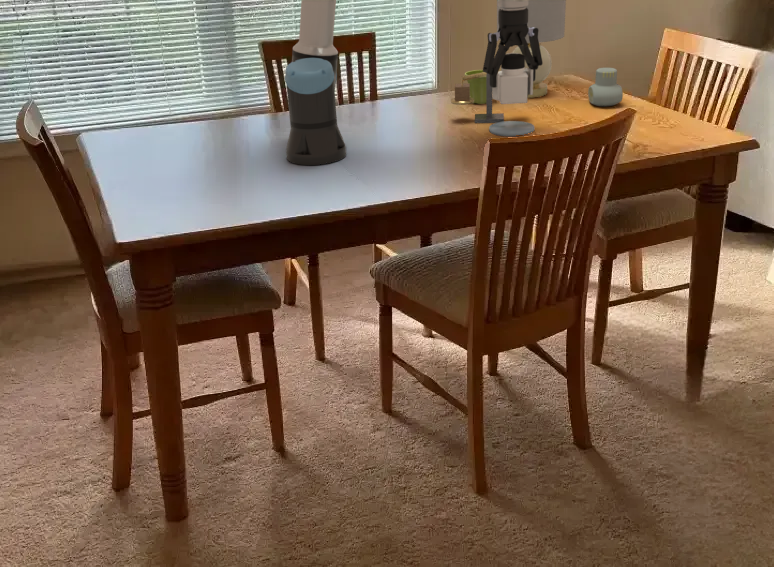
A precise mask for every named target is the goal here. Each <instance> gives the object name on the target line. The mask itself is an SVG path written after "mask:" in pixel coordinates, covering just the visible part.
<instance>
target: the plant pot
mask: <svg viewBox="0 0 774 567" xmlns="http://www.w3.org/2000/svg"><path fill="white" fill-rule="evenodd" d="M482 72H483V69H474V70H469V71H466V72H465V73H464V76H467V75H472V74H477V73H482ZM466 81H467V83H470V97H471V98H473V99H474V102H473V103H472V104H477V105H486V76H485V77H480V78H475V79H470V80H466Z"/></svg>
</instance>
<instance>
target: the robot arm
mask: <svg viewBox="0 0 774 567" xmlns="http://www.w3.org/2000/svg"><path fill="white" fill-rule="evenodd" d="M336 3H337V0H301V3H300V19H299V21H300V22H299V37H298V41H297V42H296V44H295V45H293V46H292V56H291V62H290V63H289V64H287V66H286V68H285V74H284V81H285V85H286V92H287V103H288V104H287V105H288V114H289V116H288V117H289V123H290V129H289V134H288V139H287V143H286V144H287V145H286V149H285V154H286V160H287V161H288V162H289V161H290V162H289V163H291V162H292V164H295V165H300V166H317V165H318V166H320V164H321V165H327V164H331V162H332V163H335V162H338V161H341V160H343V159H344V158H345V157H346V156H347V146H346V143H345V141H344V138H343V135H342V132H341V131H340V128H339V126H338V117H337V116H338V115H337V107H336V106H337V104H336V85H337V80H338V73H337V72H338V71H337V69H338V56H339V51H338V50H337V48H336V47H335V46H334V33H335V18H336V6H337V5H336ZM498 6H499V7H500V8H501V9H499V11H498V23H499V30H498V32H497V31H496V32H489V33H487V47H486V52H485V56H484V62H483V67H482V70H483V72H485V73H488V74H489V75H490V87H492V100H494V101H495V100H496V101H499V100H500V75H499V74H497V73H498V71H499V69H501V64H502V62H503V59H504V57H505V54H507V51H509V50H510V48H512V47H515V46H516V47H518V46H519V48H520V50H521V52H522V55H524V56H525V61H526V63H527V65H528V67H529V68H525V72H526V73H527V75H528V94H529V95H533V81H535V75H536V70H537V69H538V66H539V65H540V66H541V65H542V64H543V62H542V57H541V52H540V46H539V43H540V42H539V41H538V31H539V30H538V28H535V27H530V28H528V26H527V23H528V9H527V8H526V7H527V6H528V0H498ZM527 34H528V35H529V41H530V46H531V51H532V54H531V52H530V50H529V48H528V43H527V41H526V39H525V37H526V35H527ZM498 38H500V39H501V40H499V39H498ZM498 41H499V44H498ZM497 46H498V47H497ZM532 56H533V57H532ZM326 163H327V164H326Z"/></svg>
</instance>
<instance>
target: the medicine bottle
mask: <svg viewBox="0 0 774 567" xmlns="http://www.w3.org/2000/svg"><path fill="white" fill-rule="evenodd" d="M500 69H501V71H499V72H498V74H499V75H500V100H498V101H499V103H500V104H501V105H508V104H509V105H513V104H527V103H529V98H528V75H527V73H526V72H525V56H524V55H522V54H519V53H512V52H510V53H506V54H505V57H504V59H503V62H502V64H501V66H500Z"/></svg>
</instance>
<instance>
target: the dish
mask: <svg viewBox="0 0 774 567" xmlns="http://www.w3.org/2000/svg"><path fill="white" fill-rule="evenodd" d="M535 129H536V128H535V125H534V124H533V123H530V122H526V121H521V120H520V121H519V120H508V121H507V120H506V121H505V120H504V122H498V123H491V125H489V127H488V130H489V133H491V134H492V135H495V136H500V137H517V136H516V135H523V136H525V135H524V134H528V133H531V132H532V133H533V131H534V132H535ZM532 133H531V134H532ZM528 135H529V134H528Z"/></svg>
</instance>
